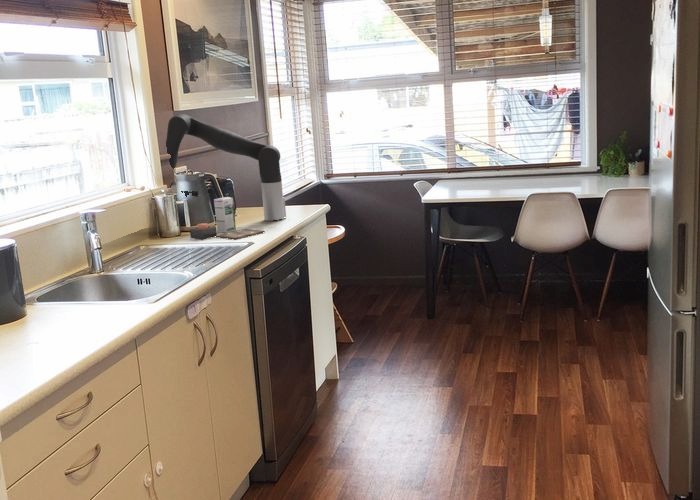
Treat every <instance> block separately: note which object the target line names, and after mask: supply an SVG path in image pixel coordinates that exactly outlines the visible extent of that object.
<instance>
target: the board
mask: <svg viewBox="0 0 700 500" xmlns="http://www.w3.org/2000/svg"><path fill="white" fill-rule="evenodd" d="M263 232H265V230H261V229H260V230H259V229H249V228H243V229H239V230H236V231H232V232H228V233H221V234H217V235H216V237H220V238H219V239H224V238H228V239H227V240H232V239H234V240H233V241H237V240H241V239H245V238H248V236H249V237H253V236H257V235H261V234H260V233H262V234H264V233H263ZM265 233H266V232H265ZM256 234H257V235H256ZM252 235H253V236H252ZM216 237H215V238H216Z"/></svg>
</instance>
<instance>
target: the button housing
mask: <svg viewBox="0 0 700 500" xmlns="http://www.w3.org/2000/svg"><path fill="white" fill-rule="evenodd" d="M189 234H190V239H193V240H201V241H204V240H207V238H208V239H211V237H212V238H216V237H215V236H216V235H218V231H217V226H211V225H208V228H206V229H198V228H197V226H196V227H192V228H189Z"/></svg>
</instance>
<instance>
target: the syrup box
mask: <svg viewBox="0 0 700 500" xmlns="http://www.w3.org/2000/svg"><path fill="white" fill-rule="evenodd" d="M213 204H214V211H215V212H214V213H215V223H216V232H217V233H221V234H225V233H229V232H234V231H237V229H236V228H237V227H236V226H237V225H236V219H235V207H234V199H233V197H232V196H231V197H230V196H224V197H219V198H214V199H213Z"/></svg>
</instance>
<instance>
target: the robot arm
mask: <svg viewBox="0 0 700 500" xmlns="http://www.w3.org/2000/svg"><path fill="white" fill-rule="evenodd" d="M167 123H168V124H167V132H166V140H165V144H166V147H167V153H168V154H170V155H171V158H170V159H169V162H170V165H171V167H172V168H173V169H174V168H175V167H177V163H178V159H179V158H178V157H179V149H180V147H181V143H182V141H183V140H184V139H183V138H184V136H185V135H188V136H191V137H195V138H198V139H200V140H202V141H204V142H205V143H207V144H208V145H210V146H212V147H213V148H215V149H217V150H220V151H223V152H226V153H230V154H233V155H238V156H239V155H240V156H245V157H248V158H251V159H254V160H257V161H258V169H259V177H260V183H261V195H262V196H261V197H262V204H263V205H262V208H263V217H264V219H263V220H264V221H266V222H267V221H268V222H274V221H273V220H277V221H280V220H279V219H282V220H284V219H283V218H284V217H286V218H287V213H286V212H287V211H286V209H287V208H286V199H285V197H284V194H283V183H282V173H281V165H280V160H281V153H280V151H279V149H278V148H277V147H275V146H273V145H269V144H264V143H261V142H257V141H254V140H251V139H249V138H246V136H245V137H244V136H242V135H240V134H238V133H235V132H232V131H230V130H227V129H224V128H221V127H218V126H215V125H211V124H208V123H205V122H203V121H200V120H198V119H196V118H194V117H192V116H189V115H188V114H186V113H177V114H175V115H173V116H172V117H171V118H170V119H169V120H168V122H167ZM175 169H176V168H175ZM207 187H208V188H207V190H208V194H207V195H214V194H215V189H214V188H212V187H211V186H210V187H209V186H207ZM170 188H172V189H173V191H174V193H175V192H176V181H173V182H172V183H171V185H170ZM181 192H182V193H183V192H184V193H185V196H186V197H187V195H189V193H192V196H194V197H195V198H197V197H200V195H199V194H198V191H192V192H191V191H189V192H188V191H181ZM194 197H193V198H194Z"/></svg>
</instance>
